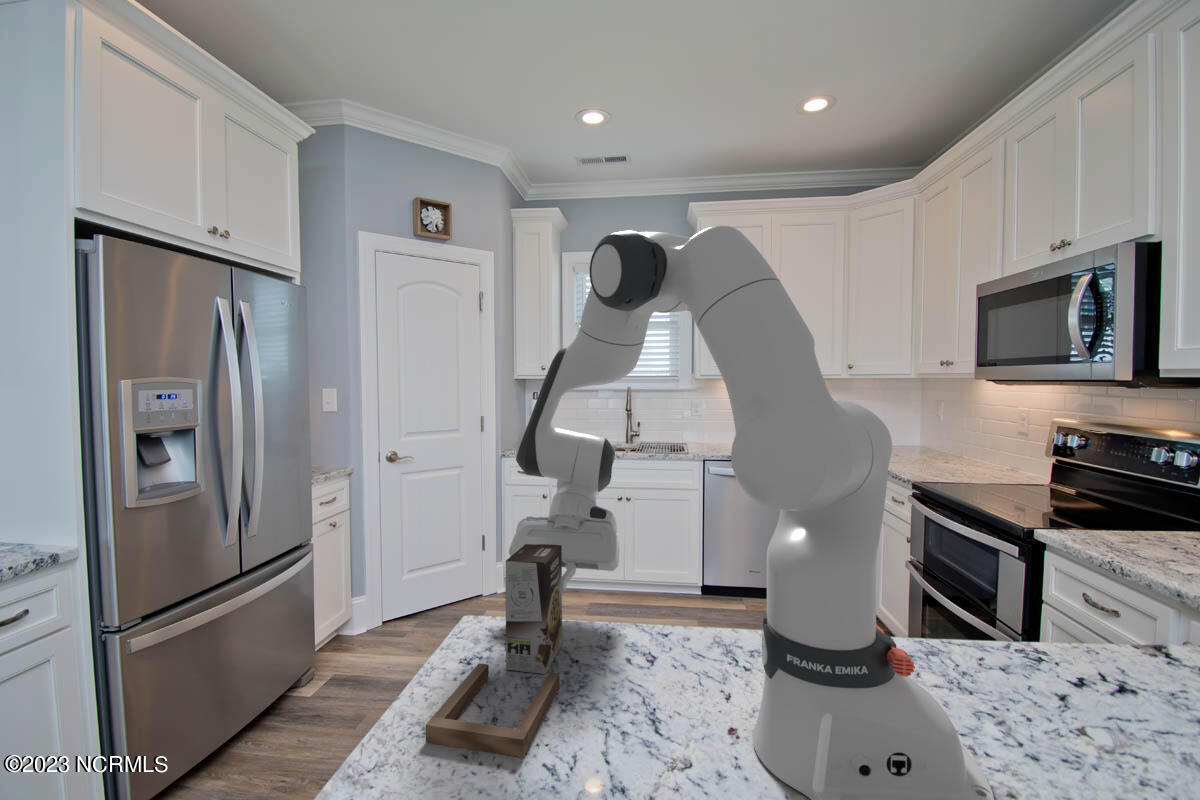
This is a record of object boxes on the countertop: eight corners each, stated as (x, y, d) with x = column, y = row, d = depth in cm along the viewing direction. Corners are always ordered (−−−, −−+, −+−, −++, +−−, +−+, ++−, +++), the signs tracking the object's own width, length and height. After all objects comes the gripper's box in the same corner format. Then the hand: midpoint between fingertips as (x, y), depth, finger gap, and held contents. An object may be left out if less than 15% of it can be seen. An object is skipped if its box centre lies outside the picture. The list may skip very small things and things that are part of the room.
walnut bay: (559, 687, 68) (559, 672, 68) (523, 757, 55) (523, 739, 55) (478, 677, 71) (478, 663, 71) (425, 742, 58) (425, 724, 58)
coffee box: (547, 675, 71) (545, 562, 71) (504, 670, 73) (503, 560, 72) (564, 643, 80) (563, 543, 80) (526, 640, 81) (525, 541, 81)
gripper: (516, 507, 96) (494, 576, 86) (620, 512, 91) (610, 585, 82) (524, 524, 100) (505, 591, 91) (625, 530, 96) (615, 601, 86)
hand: (556, 589), depth 86 cm, fingers closed
